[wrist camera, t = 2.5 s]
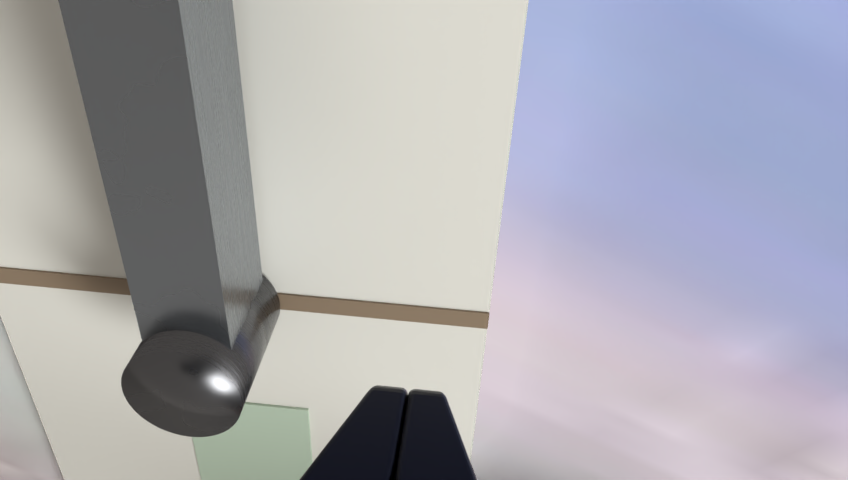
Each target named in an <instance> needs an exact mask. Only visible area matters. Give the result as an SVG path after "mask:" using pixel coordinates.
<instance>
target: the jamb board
mask: <svg viewBox="0 0 848 480" xmlns="http://www.w3.org/2000/svg"><path fill="white" fill-rule="evenodd" d="M232 2H233V11H234V20H235V29H236V38H237V48H238V57H239V66H240V75H241V85H242V94H243V103H244V112H245V121H246V131H247V140H248V149H249V158H250V167H251V177H252V186H253V195H254V204H255V214H256V223H257V232H258V241H259V250H260V260H261V269H262V275H264V276H265V277H266V278H267V279H268V280H269V281H270V283H271V284H272V285H273V287H274V288H275V290H276V292H277V294H278V297H279V300H280V315H279V317H278V320H277V323H276V325H275V328H274V330H273V333H272V335H271V338H270V341H269V343H268V346H267V348H266V351H265V353H264V356H263V358H262V361H261V363H260V366H259V368H258V371H257V374H256V376H255V379H254V381H253V384H252V386H251V389H250V391H249V394H248V396H247V399H246V402H245V404H244V407H243V409H242V412H241V414H240V417H239V419H238V420H237V422H236V423H235V424H234V425H233V426H232V427H231V428H230V429H229V430H227V431H225V432H223V433H220V434H218V435H214V436H208V437H188V436H182V435H178V434H174V433H171V432H168V431H165V430H163V429H160V428H158V427H156V426H154V425H153V424H151V423H149V422H148V421H146V420H145V419H144V418H142V417H141V416H140V415H139V414H138V413H136V412H135V411H134V409H133V408H132V407H131V406H130V405H129V403H128V402H127V400H126V398H125V396H124V394H123V391H122V387H121V378H122V374H123V371H124V369H125V367H126V366H127V364H128V363H129V361H130V359H131V358H132V356H133V354H134V353H135V351H136V349H137V348H138V346H139V344H140V343H141V341H142V339H141V335H140V331H139V327H138V322H137V318H136V314H135V310H134V306H133V302H132V298H131V294H130V290H129V286H128V282H127V278H126V274H125V270H124V266H123V262H122V258H121V253H120V249H119V245H118V241H117V237H116V233H115V229H114V225H113V221H112V217H111V213H110V209H109V205H108V201H107V197H106V193H105V188H104V184H103V180H102V176H101V172H100V168H99V164H98V160H97V156H96V152H95V148H94V144H93V140H92V136H91V132H90V128H89V124H88V119H87V115H86V111H85V107H84V103H83V99H82V95H81V91H80V87H79V83H78V79H77V75H76V71H75V67H74V63H73V59H72V55H71V50H70V46H69V42H68V38H67V34H66V30H65V26H64V22H63V18H62V14H61V10H60V6H59V2H58V0H0V317H1V319H2V322H3V324H4V327H5V329H6V332H7V335H8V337H9V340H10V342H11V345H12V347H13V350H14V353H15V355H16V358H17V360H18V363H19V365H20V368H21V370H22V373H23V376H24V378H25V381H26V383H27V386H28V388H29V391H30V394H31V396H32V399H33V401H34V404H35V406H36V409H37V412H38V414H39V417H40V419H41V422H42V424H43V427H44V430H45V432H46V435H47V437H48V440H49V442H50V445H51V448H52V450H53V453H54V455H55V458H56V460H57V463H58V466H59V468H60V471H61V473H62V476H63V478H64V480H300V478H301V477H302V476H303V474H304V473H305V472H306V471H307V469H308V468H309V467H310V465H311V464H312V463H313V462H314V460H315V459H316V458H317V456H318V455H319V454H320V452H321V451H322V450H323V449H324V447H325V446H326V445H327V443H328V442H329V441H330V440H331V438H332V437H333V436H334V434H335V433H336V432H337V431H338V429H339V428H340V427H341V425H342V424H343V423H344V422H345V420H346V419H347V418H348V416H349V415H350V414H351V412H352V411H353V410H354V409H355V407H356V406H357V405H358V403H359V402H360V401H361V400H362V398H363V397H364V396H365V394H366V393H367V392H368V391H369V390H370V389H371V388H372V387H373V386H376V385H381V386H392V387H402V388H404V389H406V390H407V392H408V394H409V392H410V391H411V390H412V389H422V390H432V391H440V392H442V393H444V395H445V396H446V398H447V400H448V403H449V406H450V408H451V411H452V414H453V417H454V419H455V422H456V425H457V427H458V430H459V433H460V435H461V438H462V441H463V443H464V446H465V449H466V452H467V454H468V457H469V460H470V461H471V453H472V445H473V438H474V430H475V422H476V414H477V406H478V398H479V390H480V382H481V374H482V366H483V358H484V350H485V342H486V334H487V328H488V320H489V310H490V302H491V294H492V286H493V278H494V271H495V263H496V255H497V247H498V239H499V231H500V223H501V215H502V207H503V199H504V191H505V183H506V175H507V167H508V159H509V151H510V143H511V135H512V127H513V119H514V111H515V103H516V96H517V88H518V80H519V72H520V64H521V56H522V48H523V40H524V32H525V24H526V16H527V8H528V0H232Z"/></svg>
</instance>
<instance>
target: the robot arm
mask: <svg viewBox="0 0 848 480" xmlns="http://www.w3.org/2000/svg"><path fill="white" fill-rule="evenodd" d="M300 480H477V479H476V476H475V473H474V470H473V468H472V465H471V462H470V460H469V457H468V454H467V452H466V449H465V446H464V443H463V441H462V438H461V435H460V433H459V430H458V427H457V425H456V422H455V419H454V417H453V414H452V411H451V408H450V406H449V403H448V400H447V398H446V396H445V395H444V393H442V392H440V391H432V390H422V389H412V390H411V391H410V392H409V394H408V392H407V390H406V389H404V388H402V387H392V386H381V385H376V386H373V387H372V388H371V389H370V390H369V391H368V392H367V393H366V394H365V396H364V397H363V398H362V400H361V401H360V402H359V403H358V405H357V406H356V407H355V409H354V410H353V411H352V412H351V414H350V415H349V416H348V418H347V419H346V420H345V422H344V423H343V424H342V425H341V427H340V428H339V429H338V431H337V432H336V433H335V434H334V436H333V437H332V438H331V440H330V441H329V442H328V443H327V445H326V446H325V447H324V449H323V450H322V451H321V452H320V454H319V455H318V456H317V458H316V459H315V460H314V462H313V463H312V464H311V465H310V467H309V468H308V469H307V471H306V472H305V473H304V474H303V476H302V477H301V478H300Z"/></svg>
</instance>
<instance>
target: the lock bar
mask: <svg viewBox="0 0 848 480" xmlns="http://www.w3.org/2000/svg"><path fill="white" fill-rule="evenodd" d="M58 2H59V6H60V10H61V14H62V18H63V22H64V26H65V30H66V34H67V38H68V42H69V46H70V50H71V55H72V59H73V63H74V67H75V71H76V75H77V79H78V83H79V87H80V91H81V95H82V99H83V103H84V107H85V111H86V115H87V119H88V124H89V128H90V132H91V136H92V140H93V144H94V148H95V152H96V156H97V160H98V164H99V168H100V172H101V176H102V180H103V184H104V188H105V193H106V197H107V201H108V205H109V209H110V213H111V217H112V221H113V225H114V229H115V233H116V237H117V241H118V245H119V249H120V253H121V258H122V262H123V266H124V270H125V274H126V278H127V282H128V286H129V290H130V294H131V298H132V302H133V306H134V310H135V314H136V318H137V322H138V327H139V331H140V335H141V339H142V341H141V343H140V344H139V346H138V348H137V349H136V351H135V353H134V354H133V356H132V358H131V359H130V361H129V363H128V364H127V366H126V367H125V369H124V371H123V374H122V378H121V387H122V391H123V394H124V396H125V398H126V400H127V402H128V403H129V405H130V406H131V407H132V408H133V409H134V411H135V412H136V413H138V414H139V415H140V416H141V417H142V418H144V419H145V420H146V421H148V422H149V423H151V424H153V425H154V426H156V427H158V428H160V429H163V430H165V431H168V432H171V433H174V434H178V435H182V436H188V437H208V436H214V435H218V434H220V433H223V432H225V431H227V430H229V429H230V428H231V427H232V426H233V425H234V424H235V423H236V422H237V420H238V419H239V417H240V414H241V412H242V409H243V407H244V404H245V402H246V399H247V396H248V394H249V391H250V389H251V386H252V384H253V381H254V379H255V376H256V374H257V371H258V368H259V366H260V363H261V361H262V358H263V356H264V353H265V351H266V348H267V346H268V343H269V341H270V338H271V335H272V333H273V330H274V328H275V325H276V323H277V320H278V317H279V315H280V300H279V297H278V294H277V292H276V290H275V288H274V287H273V285H272V284H271V283H270V281H269V280H268V279H267V278H266V277H265V276H264V275H262V269H261V260H260V250H259V241H258V232H257V223H256V214H255V204H254V195H253V186H252V177H251V167H250V158H249V149H248V140H247V131H246V121H245V112H244V103H243V94H242V85H241V75H240V66H239V57H238V48H237V38H236V29H235V20H234V11H233V2H232V0H58Z"/></svg>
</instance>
